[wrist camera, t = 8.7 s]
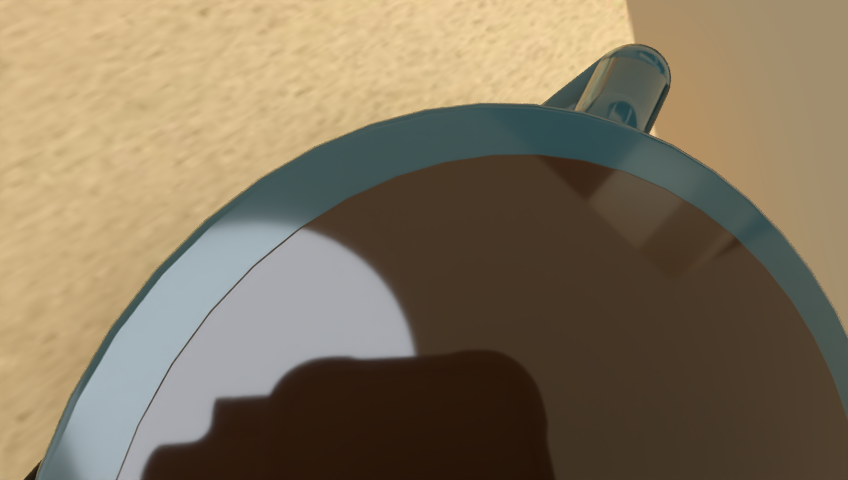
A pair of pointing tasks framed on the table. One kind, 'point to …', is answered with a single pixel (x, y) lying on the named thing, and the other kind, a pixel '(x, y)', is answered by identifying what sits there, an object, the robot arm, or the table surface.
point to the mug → (476, 314)
